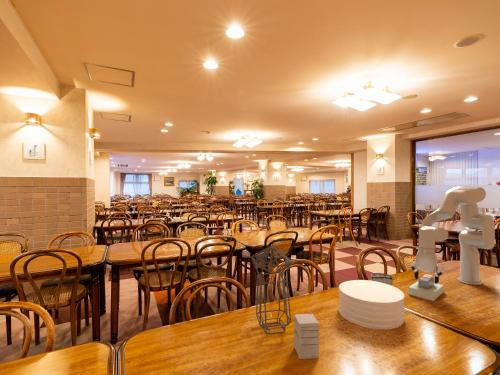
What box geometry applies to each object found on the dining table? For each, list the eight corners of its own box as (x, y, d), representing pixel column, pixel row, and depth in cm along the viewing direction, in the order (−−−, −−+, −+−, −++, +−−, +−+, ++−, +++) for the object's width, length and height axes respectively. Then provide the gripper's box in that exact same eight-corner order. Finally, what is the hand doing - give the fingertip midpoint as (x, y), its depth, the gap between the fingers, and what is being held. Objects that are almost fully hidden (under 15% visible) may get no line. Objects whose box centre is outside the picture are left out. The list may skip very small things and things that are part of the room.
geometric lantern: (296, 336, 115) (295, 249, 114) (258, 341, 113) (256, 252, 111) (285, 317, 131) (284, 241, 129) (251, 321, 128) (249, 243, 127)
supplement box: (293, 347, 108) (293, 313, 107) (313, 346, 108) (313, 313, 108) (298, 359, 100) (298, 323, 100) (319, 358, 101) (319, 322, 101)
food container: (389, 290, 165) (389, 273, 164) (393, 294, 158) (394, 276, 158) (367, 289, 166) (367, 272, 166) (370, 293, 160) (370, 275, 159)
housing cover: (420, 280, 158) (420, 277, 158) (425, 276, 164) (425, 273, 164) (428, 281, 156) (428, 279, 156) (432, 278, 162) (432, 275, 162)
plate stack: (411, 313, 136) (412, 289, 135) (392, 337, 115) (392, 308, 115) (353, 297, 155) (353, 276, 155) (328, 314, 134) (328, 290, 134)
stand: (419, 286, 171) (419, 279, 171) (443, 292, 162) (443, 285, 162) (408, 294, 159) (408, 287, 159) (433, 301, 150) (433, 293, 150)
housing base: (418, 287, 159) (418, 279, 159) (424, 282, 165) (424, 275, 165) (428, 289, 155) (428, 282, 155) (434, 285, 162) (434, 278, 162)
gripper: (407, 248, 164) (407, 278, 164) (443, 254, 151) (442, 287, 151) (412, 246, 169) (411, 275, 169) (447, 252, 156) (446, 283, 156)
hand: (426, 281), depth 160 cm, fingers open, 9 cm apart
